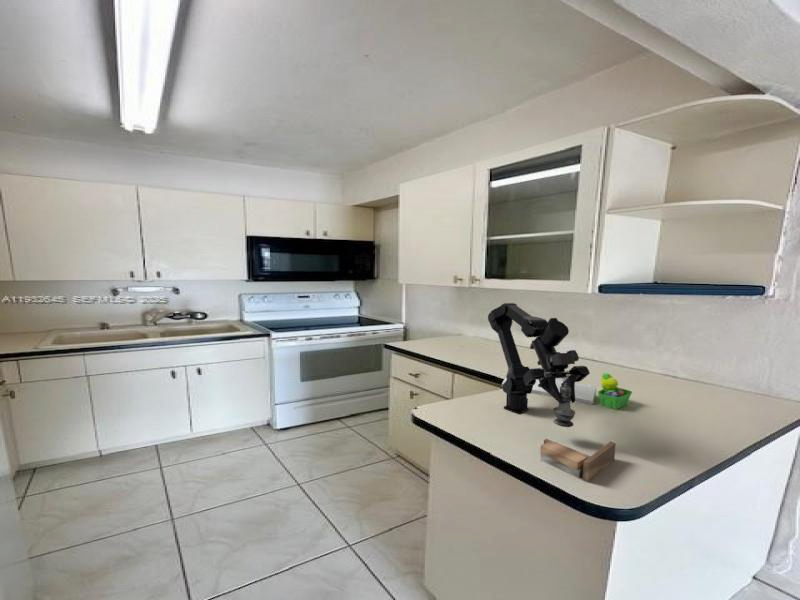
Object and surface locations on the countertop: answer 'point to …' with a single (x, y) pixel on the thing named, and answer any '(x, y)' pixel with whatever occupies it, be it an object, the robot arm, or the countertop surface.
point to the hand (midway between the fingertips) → (567, 402)
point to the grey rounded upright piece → (564, 408)
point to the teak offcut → (563, 455)
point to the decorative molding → (581, 391)
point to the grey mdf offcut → (561, 465)
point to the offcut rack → (595, 460)
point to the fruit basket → (612, 393)
